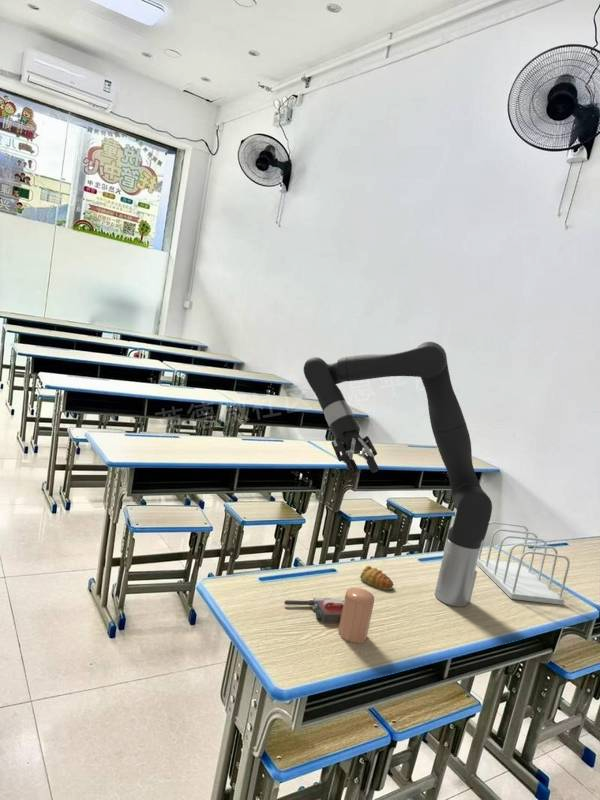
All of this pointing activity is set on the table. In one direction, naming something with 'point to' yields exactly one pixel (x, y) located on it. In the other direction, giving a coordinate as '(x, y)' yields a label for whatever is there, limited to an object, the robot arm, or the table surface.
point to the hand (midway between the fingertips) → (366, 472)
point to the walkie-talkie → (323, 608)
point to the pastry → (376, 578)
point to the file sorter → (522, 571)
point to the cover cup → (356, 615)
